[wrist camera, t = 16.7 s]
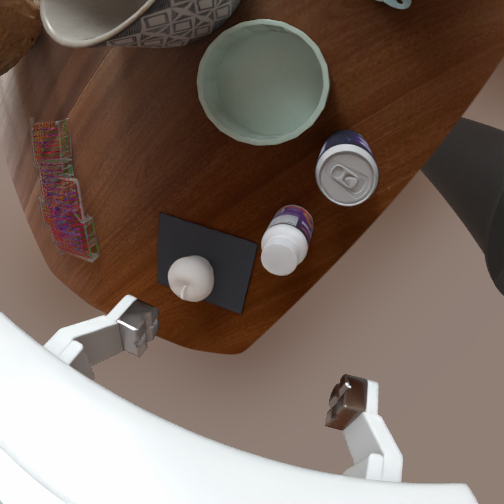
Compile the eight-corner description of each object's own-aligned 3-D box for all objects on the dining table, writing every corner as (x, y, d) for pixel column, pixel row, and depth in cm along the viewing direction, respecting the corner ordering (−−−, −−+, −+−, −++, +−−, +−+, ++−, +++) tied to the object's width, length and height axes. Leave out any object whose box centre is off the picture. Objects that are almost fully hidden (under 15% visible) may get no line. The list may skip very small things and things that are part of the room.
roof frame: (36, 115, 43) (16, 121, 39) (83, 109, 40) (60, 114, 36) (57, 245, 59) (42, 257, 55) (102, 261, 56) (86, 275, 52)
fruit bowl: (342, 42, 27) (342, 34, 23) (314, 151, 35) (310, 160, 31) (225, 22, 29) (209, 14, 25) (206, 124, 37) (188, 130, 33)
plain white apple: (215, 291, 50) (195, 323, 43) (177, 272, 50) (153, 301, 44) (227, 259, 46) (205, 291, 39) (185, 239, 46) (159, 267, 40)
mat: (258, 243, 43) (257, 245, 43) (241, 312, 51) (240, 314, 51) (160, 212, 46) (159, 213, 45) (159, 281, 53) (157, 282, 53)
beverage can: (352, 183, 35) (354, 222, 25) (314, 156, 35) (300, 186, 25) (378, 147, 32) (393, 172, 22) (339, 119, 32) (337, 131, 22)
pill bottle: (315, 240, 41) (305, 282, 33) (276, 240, 42) (257, 280, 34) (312, 203, 38) (302, 237, 30) (272, 203, 40) (250, 237, 32)
